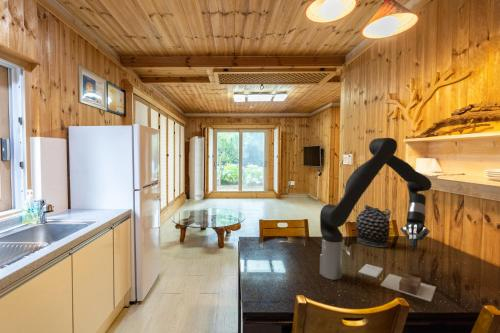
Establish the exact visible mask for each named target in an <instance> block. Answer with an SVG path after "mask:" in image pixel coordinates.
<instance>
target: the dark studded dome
mask: <svg viewBox="0 0 500 333" xmlns="http://www.w3.org/2000/svg"><path fill="white" fill-rule="evenodd" d="M391 213H392V211H391V210H390V209H388V208H385V209H384V210H380V209H379V208H378V207H373V206H369V205H367V204H366V205H365V206H364V209H363V210H361V211H360V213H358V215H357V216H356V218H355V220H356V222H355V223H354V225H355V230H356V233H357V237H356V241H357V242H358V243H360V244H361V245H365V246H372V247H377V248H378V247H379V248H386V247H388V245H389V242H388V240H389V237H390V230H391V229H390V228H391V227H390V226H391V225H390V219H391Z"/></svg>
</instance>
